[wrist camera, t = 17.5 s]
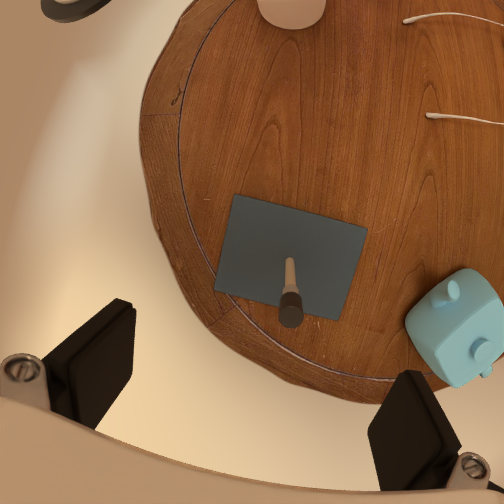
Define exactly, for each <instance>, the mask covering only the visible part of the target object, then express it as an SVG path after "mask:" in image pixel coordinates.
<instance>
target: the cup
mask: <svg viewBox="0 0 504 504" xmlns="http://www.w3.org/2000/svg"><path fill="white" fill-rule="evenodd" d="M257 2H258V7H259V10H260V13H261V15H262V16H263V17H264V18H265V19H266V20H267V21H268V22H269V23H271V24H273V25H275V26H277V27H280V28H284V29H293V30H294V29H303V28H307V27H309V26H311V25H313V24H315V23H316V22H317V21H318V20H319V19H320V18H321V17H322V15H323V12H324V8H325V3H326V0H257Z"/></svg>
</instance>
